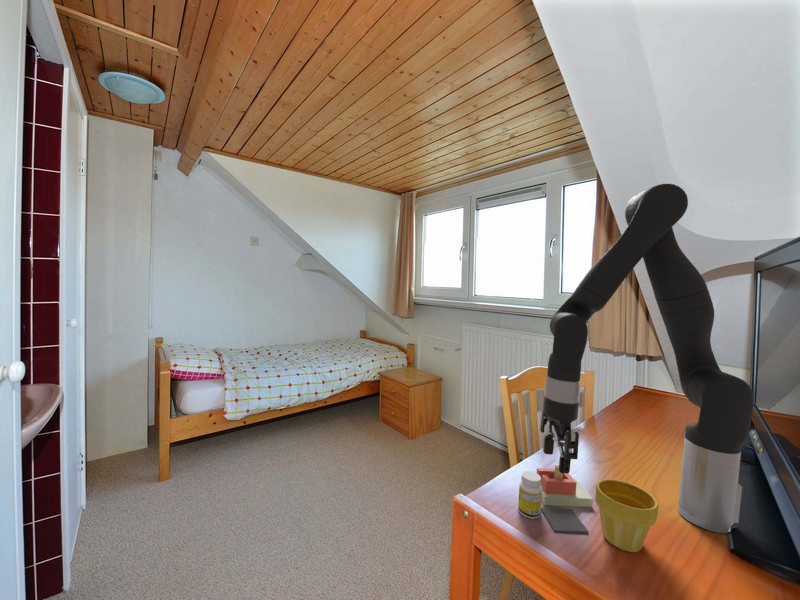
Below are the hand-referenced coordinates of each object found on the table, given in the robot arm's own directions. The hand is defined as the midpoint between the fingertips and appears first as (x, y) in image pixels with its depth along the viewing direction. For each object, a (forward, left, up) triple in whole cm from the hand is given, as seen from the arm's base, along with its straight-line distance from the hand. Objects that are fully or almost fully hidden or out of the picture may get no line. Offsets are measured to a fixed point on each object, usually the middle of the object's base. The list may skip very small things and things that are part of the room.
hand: (555, 462), depth 83 cm
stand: (-2, 0, -8) cm, 8 cm away
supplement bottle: (+8, +7, -8) cm, 13 cm away
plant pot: (-8, +14, -8) cm, 18 cm away
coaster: (+2, +9, -8) cm, 12 cm away
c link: (0, 0, -6) cm, 6 cm away
